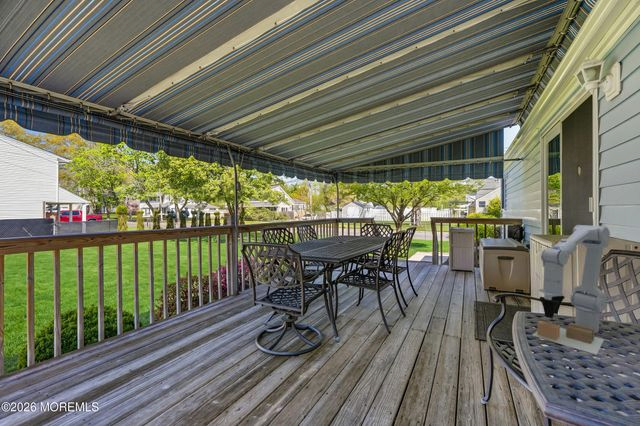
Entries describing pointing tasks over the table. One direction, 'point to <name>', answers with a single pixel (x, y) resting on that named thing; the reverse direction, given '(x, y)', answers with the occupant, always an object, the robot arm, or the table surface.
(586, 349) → the baseplate
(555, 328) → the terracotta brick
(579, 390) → the table surface
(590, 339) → the walnut block
